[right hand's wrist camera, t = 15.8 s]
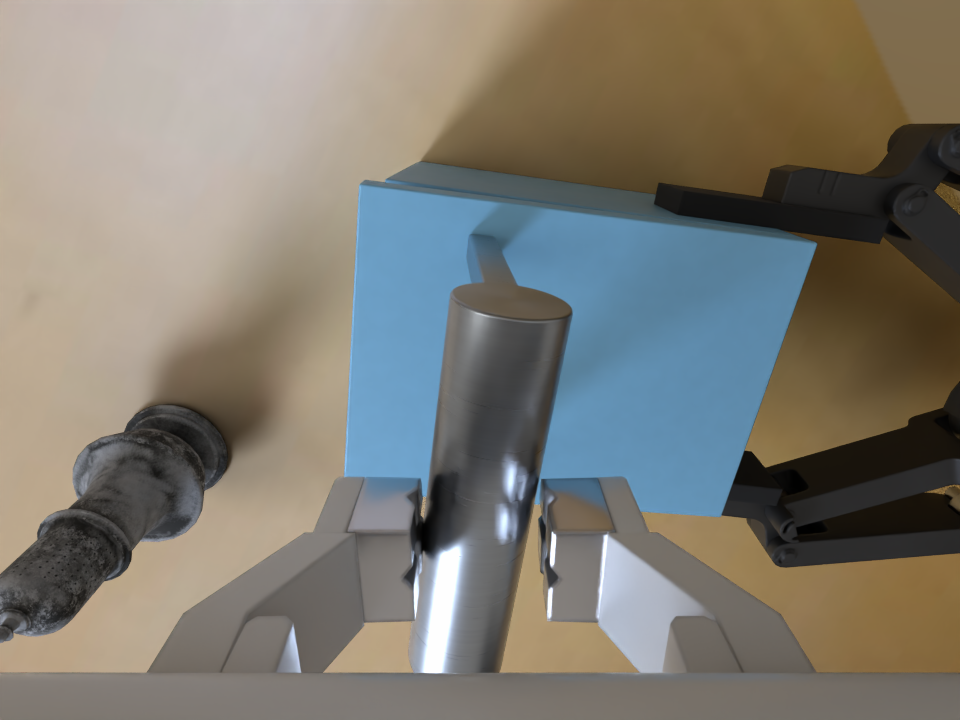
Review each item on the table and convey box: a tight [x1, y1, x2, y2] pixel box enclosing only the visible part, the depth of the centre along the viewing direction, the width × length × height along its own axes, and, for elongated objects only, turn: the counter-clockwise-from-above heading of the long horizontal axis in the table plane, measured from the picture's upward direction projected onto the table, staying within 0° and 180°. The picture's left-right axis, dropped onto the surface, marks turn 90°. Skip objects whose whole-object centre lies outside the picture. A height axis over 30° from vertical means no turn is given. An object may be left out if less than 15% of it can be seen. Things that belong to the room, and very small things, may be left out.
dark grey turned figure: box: [0, 405, 228, 643], centre depth 24 cm, size 6×6×12 cm
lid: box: [344, 180, 817, 673], centre depth 14 cm, size 12×9×8 cm
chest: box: [385, 162, 796, 236], centre depth 22 cm, size 12×9×9 cm
